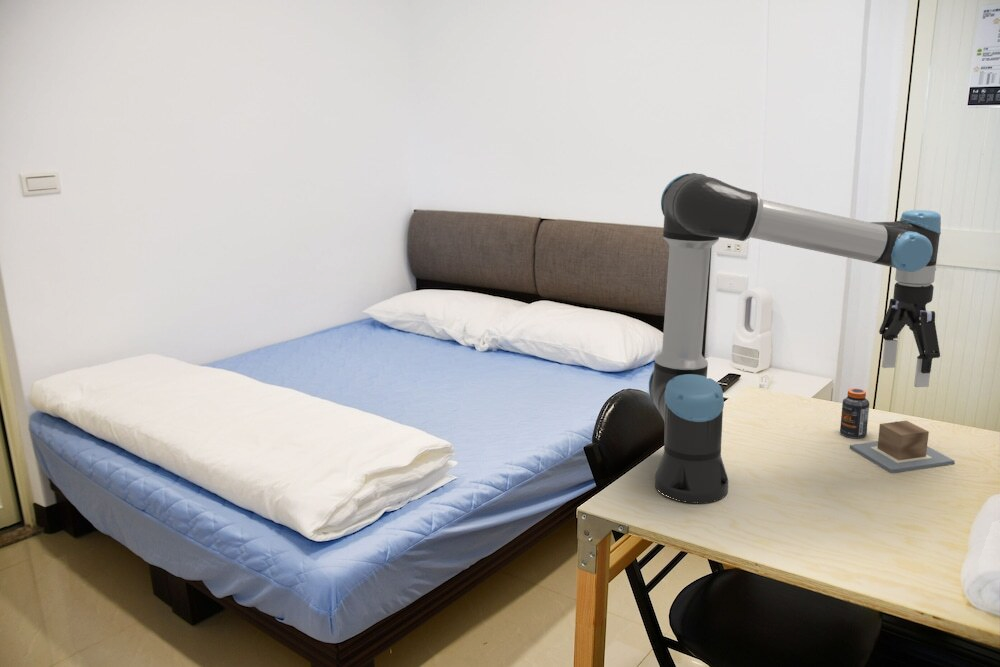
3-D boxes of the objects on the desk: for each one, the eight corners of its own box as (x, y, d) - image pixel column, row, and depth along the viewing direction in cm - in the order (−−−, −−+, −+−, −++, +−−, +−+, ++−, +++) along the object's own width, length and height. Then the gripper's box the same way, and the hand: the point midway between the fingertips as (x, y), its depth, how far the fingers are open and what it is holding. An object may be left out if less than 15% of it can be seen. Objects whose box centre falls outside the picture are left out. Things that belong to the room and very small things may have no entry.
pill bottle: (834, 432, 191) (838, 388, 188) (851, 427, 194) (855, 384, 191) (854, 440, 186) (858, 396, 183) (872, 435, 188) (876, 391, 186)
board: (891, 473, 169) (891, 469, 169) (849, 448, 182) (850, 444, 182) (954, 463, 172) (954, 460, 172) (909, 440, 185) (909, 436, 185)
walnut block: (898, 460, 173) (901, 435, 171) (877, 448, 180) (879, 423, 178) (925, 456, 174) (928, 431, 173) (903, 444, 181) (906, 420, 179)
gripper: (966, 294, 156) (954, 394, 161) (900, 271, 180) (891, 359, 185) (930, 296, 156) (918, 396, 161) (868, 273, 180) (860, 360, 185)
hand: (904, 376), depth 173 cm, fingers open, 13 cm apart
